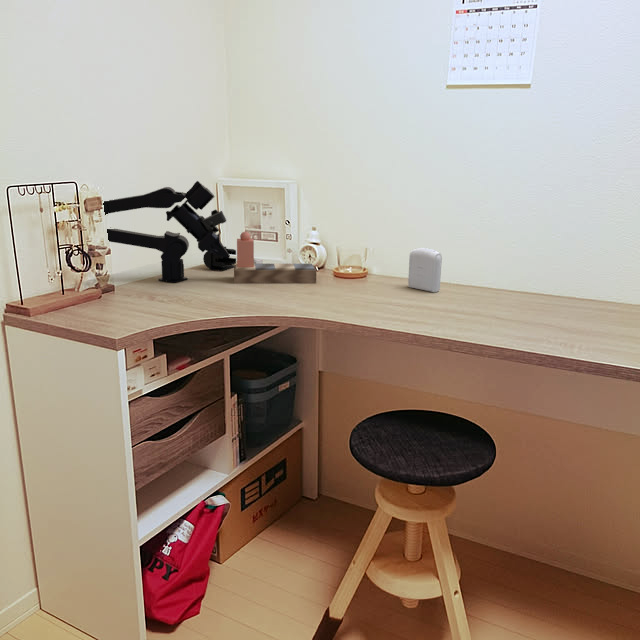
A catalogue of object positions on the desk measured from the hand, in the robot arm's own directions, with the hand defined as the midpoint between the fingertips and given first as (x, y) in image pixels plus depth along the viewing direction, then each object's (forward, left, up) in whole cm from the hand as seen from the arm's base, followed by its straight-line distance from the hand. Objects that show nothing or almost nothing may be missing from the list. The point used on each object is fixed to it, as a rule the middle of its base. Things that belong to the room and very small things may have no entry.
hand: (228, 257), depth 198 cm
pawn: (+3, -4, -3) cm, 6 cm away
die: (+15, +1, -7) cm, 17 cm away
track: (+8, -11, -7) cm, 16 cm away
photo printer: (+22, -55, -7) cm, 60 cm away
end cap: (+14, +14, -7) cm, 21 cm away
